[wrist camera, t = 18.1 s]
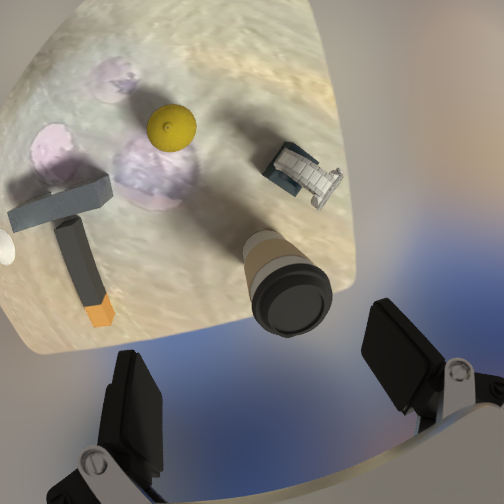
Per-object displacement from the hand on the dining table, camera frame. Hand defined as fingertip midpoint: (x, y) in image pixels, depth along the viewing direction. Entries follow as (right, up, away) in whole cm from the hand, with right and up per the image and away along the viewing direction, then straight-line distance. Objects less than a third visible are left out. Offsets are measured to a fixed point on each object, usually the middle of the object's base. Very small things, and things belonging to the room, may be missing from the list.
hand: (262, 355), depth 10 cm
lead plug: (-25, +1, +26) cm, 36 cm away
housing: (-26, +11, +21) cm, 35 cm away
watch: (+4, +15, +26) cm, 30 cm away
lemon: (-10, +19, +21) cm, 30 cm away
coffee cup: (+2, +4, +30) cm, 31 cm away
